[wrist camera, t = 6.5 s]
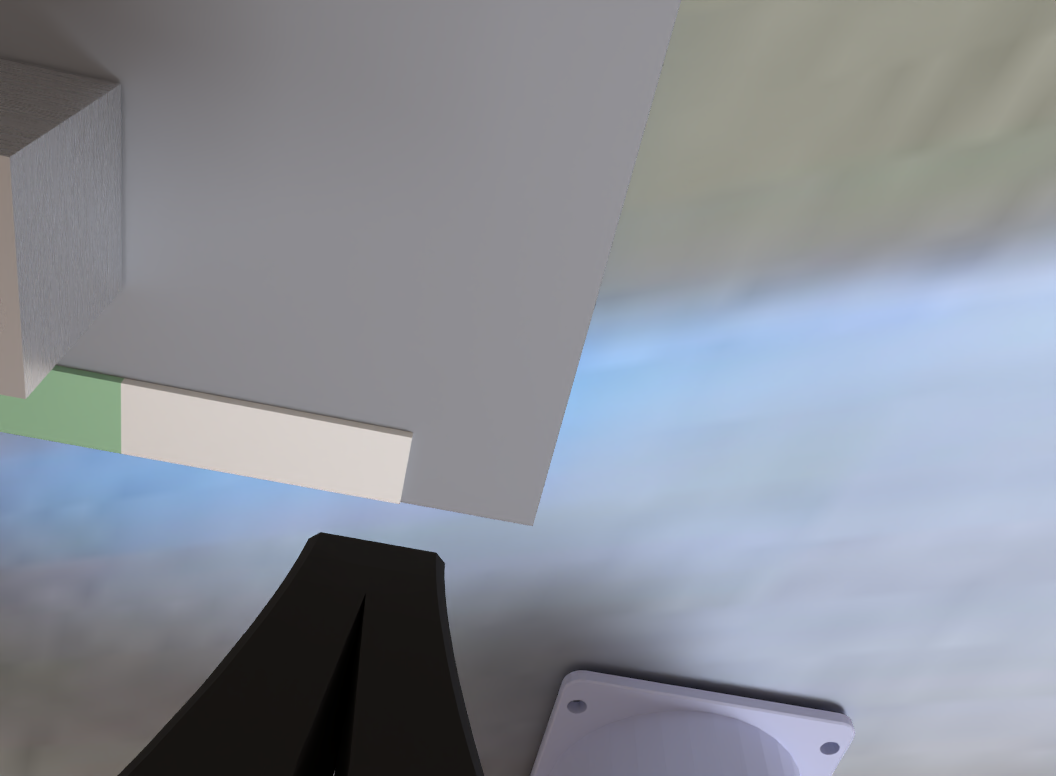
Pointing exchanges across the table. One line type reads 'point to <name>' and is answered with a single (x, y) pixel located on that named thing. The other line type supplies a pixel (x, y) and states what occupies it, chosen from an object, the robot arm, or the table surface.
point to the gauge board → (350, 234)
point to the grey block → (55, 215)
